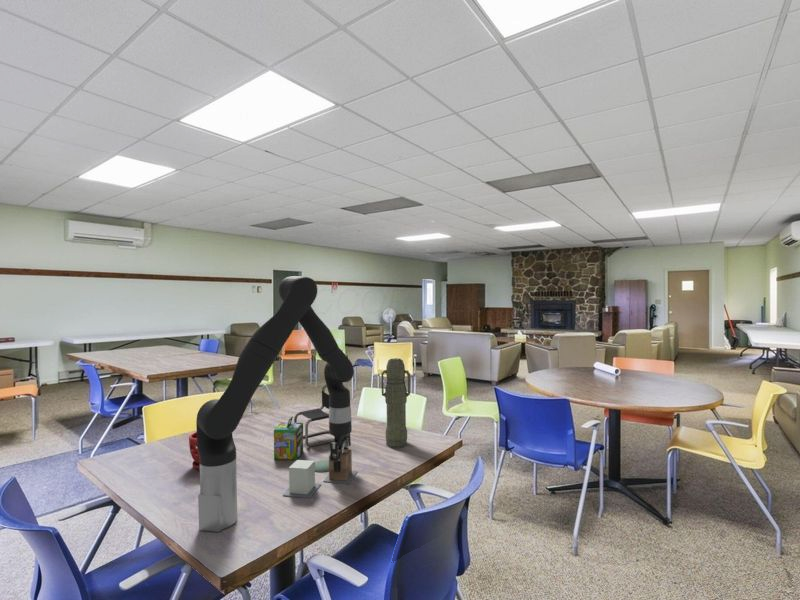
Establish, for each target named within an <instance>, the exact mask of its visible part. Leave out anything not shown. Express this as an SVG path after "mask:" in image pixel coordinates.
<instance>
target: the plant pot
mask: <svg viewBox="0 0 800 600" xmlns="http://www.w3.org/2000/svg"><path fill="white" fill-rule="evenodd" d="M188 444H189V445H188V446H189V452H190V455H191V458H192V459H193V461H192V468H194V469H196V470H199V471H200V458H199V453H198V447H197V431H195V432H193V433H191V434H190V435H189V437H188Z"/></svg>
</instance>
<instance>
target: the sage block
mask: <svg viewBox="0 0 800 600" xmlns="http://www.w3.org/2000/svg"><path fill="white" fill-rule="evenodd" d="M315 462H316V461H315V460H308V459H307V460H305V459H297V460H295V461H294V462H293V463H292V464H291V465H290V466H289V467H288V483H289V484H288V485H289V488H288V489H289V493H297V494H308V493H309V492H310V491H311V490H312V489H313V487H314V486H315V483H316V472H315Z"/></svg>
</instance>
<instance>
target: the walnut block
mask: <svg viewBox="0 0 800 600" xmlns="http://www.w3.org/2000/svg"><path fill="white" fill-rule="evenodd" d="M339 451H340V450H339ZM352 455H353V454H352V449H349V450H347V449H344V450H343V454H342V455H341V460H340V463H341V471H340V472H334V466H333V461H330V454H329V455H328V461H329V471H328V475H329V479H333V480H347V479H348V478H349V476H350V475H351V473H352V471H353V469H352V468H353V467H352V466H353V463H352V461H353V460H352V459H353V458H352V457H353V456H352ZM335 457H336V455H335Z"/></svg>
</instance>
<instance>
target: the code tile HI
mask: <svg viewBox="0 0 800 600" xmlns="http://www.w3.org/2000/svg"><path fill="white" fill-rule="evenodd" d="M321 486H322V483H316V482H315V486H314V487H313V489H312V490H311V491H310V492H309V493H308V494H297V493H289V488H288V489H287V490H286V491H285V492H284V493H283V494H282V496H283V497H288V498H289V497H291V498H300V499H301V498H304V499H311V498H312V497H313V496H314V494H315V493H316V492H317V491H318V490H319V488H320V487H321Z"/></svg>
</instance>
